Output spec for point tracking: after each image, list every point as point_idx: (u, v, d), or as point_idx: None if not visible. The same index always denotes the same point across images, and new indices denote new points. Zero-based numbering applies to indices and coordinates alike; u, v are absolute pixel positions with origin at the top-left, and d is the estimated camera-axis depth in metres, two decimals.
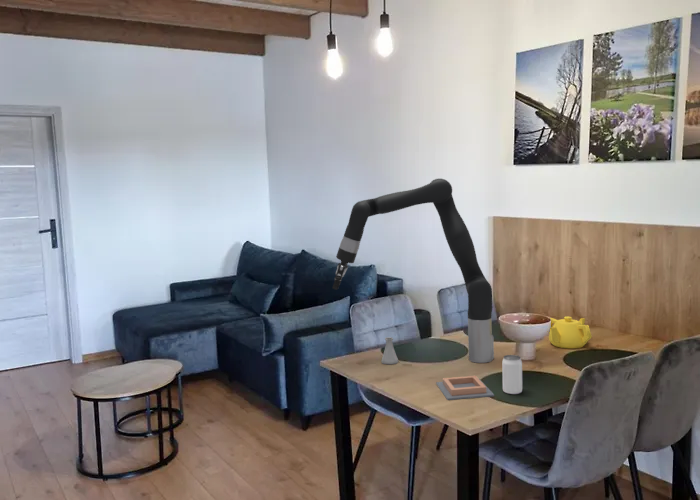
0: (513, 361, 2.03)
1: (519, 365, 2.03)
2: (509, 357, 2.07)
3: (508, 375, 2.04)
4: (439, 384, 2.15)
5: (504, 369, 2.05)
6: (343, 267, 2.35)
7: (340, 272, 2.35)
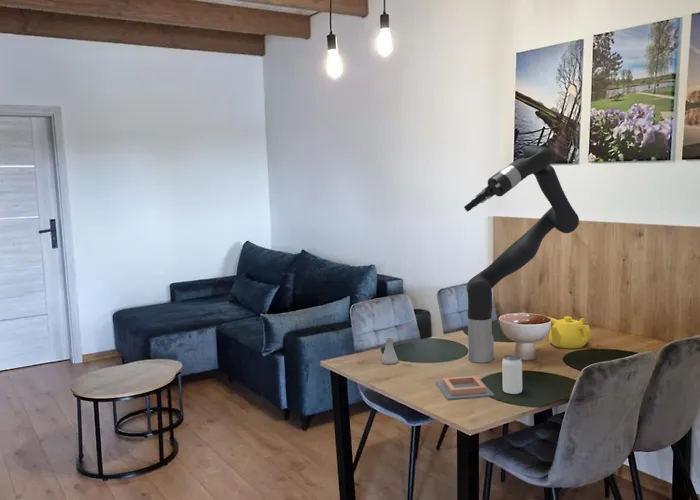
0: (513, 361, 2.03)
1: (519, 365, 2.03)
2: (509, 357, 2.07)
3: (508, 375, 2.04)
4: (439, 384, 2.15)
5: (504, 369, 2.05)
6: (500, 186, 2.03)
7: (494, 188, 2.02)
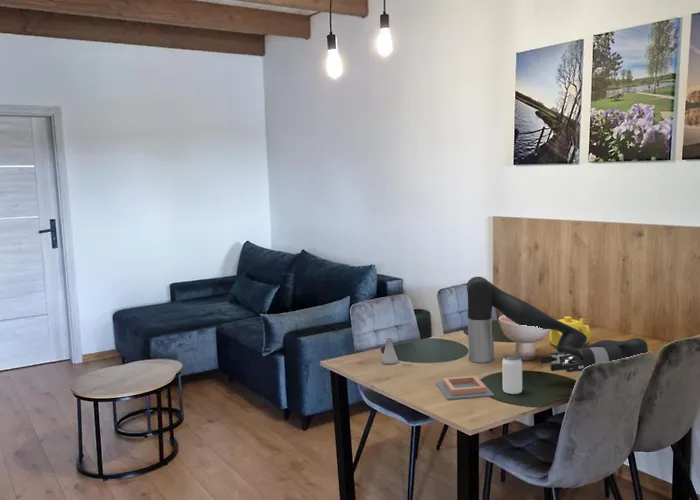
0: (513, 361, 2.03)
1: (519, 365, 2.03)
2: (509, 357, 2.07)
3: (508, 375, 2.04)
4: (439, 384, 2.15)
5: (504, 369, 2.05)
6: (582, 368, 2.01)
7: (576, 368, 2.00)
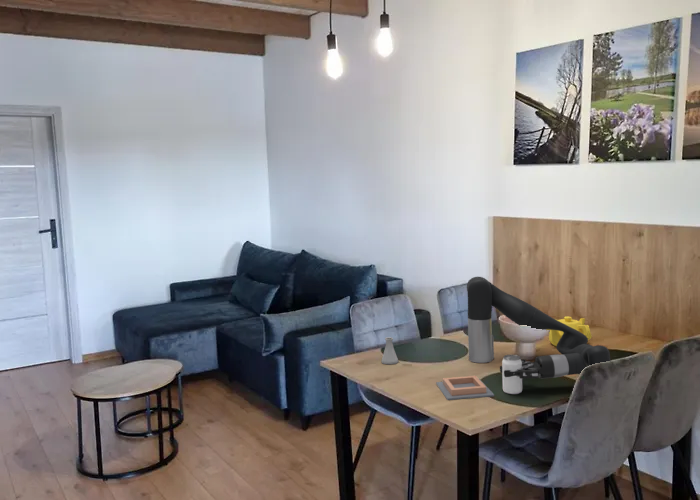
0: (513, 361, 2.03)
1: (519, 365, 2.03)
2: (509, 357, 2.06)
3: None
4: (439, 384, 2.15)
5: (504, 369, 2.05)
6: (536, 376, 2.00)
7: (529, 375, 2.00)
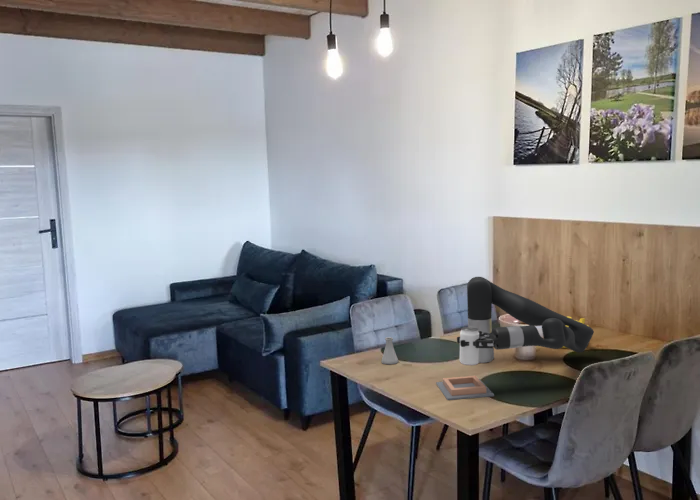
0: (470, 332, 2.05)
1: (476, 337, 2.05)
2: (467, 329, 2.08)
3: None
4: (439, 384, 2.15)
5: None
6: (491, 346, 2.02)
7: (484, 345, 2.02)
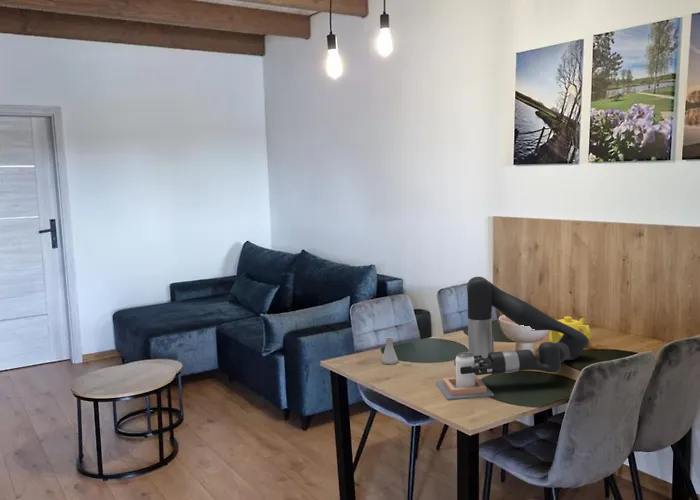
0: (465, 358, 2.06)
1: (471, 362, 2.07)
2: (462, 354, 2.10)
3: (460, 372, 2.07)
4: (439, 384, 2.15)
5: (456, 366, 2.08)
6: (491, 372, 2.04)
7: (484, 371, 2.03)
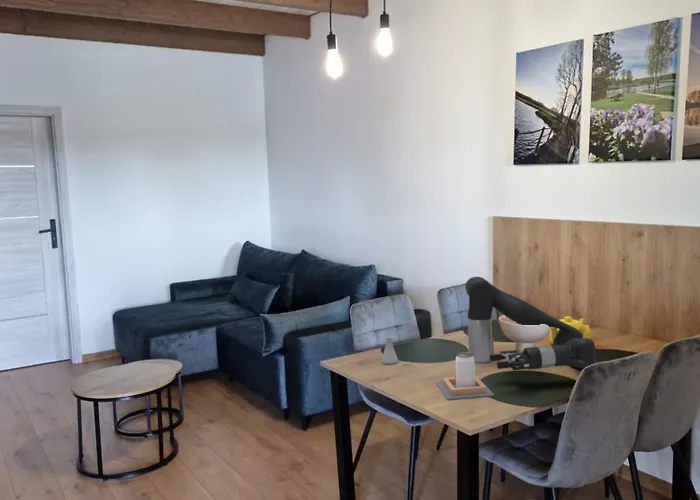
0: (465, 358, 2.06)
1: (471, 362, 2.07)
2: (462, 354, 2.10)
3: (460, 372, 2.07)
4: (439, 384, 2.15)
5: (457, 366, 2.08)
6: (528, 367, 2.04)
7: (521, 366, 2.04)
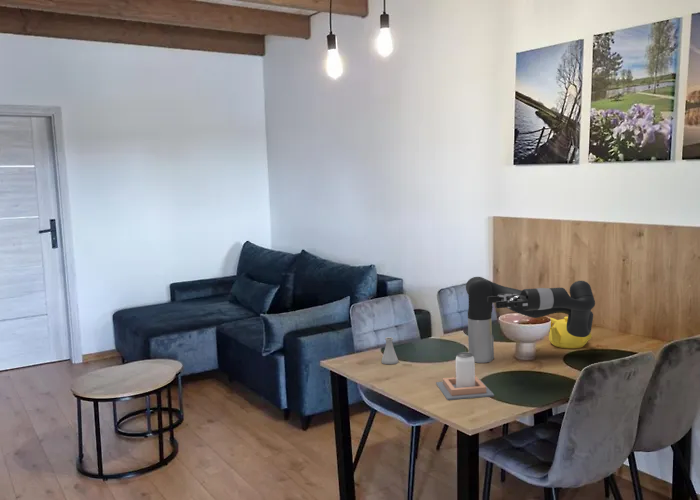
0: (465, 358, 2.06)
1: (471, 362, 2.07)
2: (462, 354, 2.10)
3: (460, 372, 2.07)
4: (439, 384, 2.15)
5: (456, 366, 2.08)
6: (526, 306, 2.04)
7: (520, 305, 2.03)
